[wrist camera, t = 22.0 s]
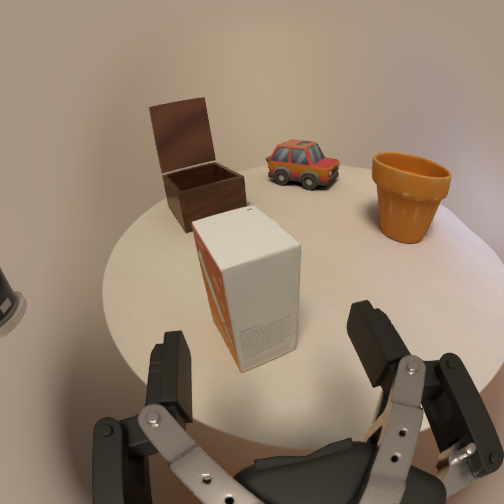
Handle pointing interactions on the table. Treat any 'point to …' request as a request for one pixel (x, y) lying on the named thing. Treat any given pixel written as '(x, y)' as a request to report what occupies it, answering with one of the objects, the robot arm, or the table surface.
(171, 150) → the lid
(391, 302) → the table surface
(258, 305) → the small box
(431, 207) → the flower pot
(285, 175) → the toy car
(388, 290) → the table surface
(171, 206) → the case
